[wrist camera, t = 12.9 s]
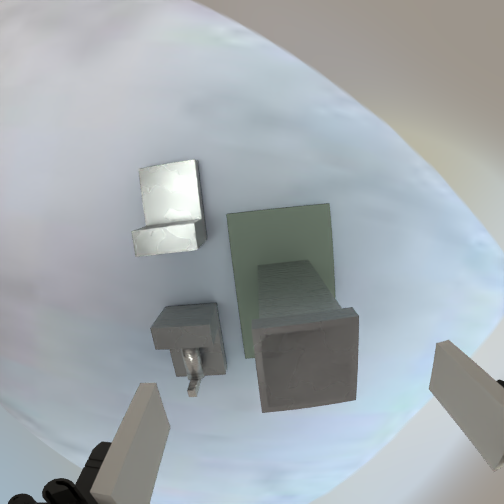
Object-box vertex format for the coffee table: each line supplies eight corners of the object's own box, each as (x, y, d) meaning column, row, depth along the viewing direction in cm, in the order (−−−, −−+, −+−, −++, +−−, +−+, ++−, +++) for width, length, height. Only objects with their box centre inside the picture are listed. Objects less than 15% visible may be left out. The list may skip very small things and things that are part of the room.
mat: (245, 356, 31) (245, 358, 31) (226, 214, 28) (226, 214, 28) (335, 345, 31) (336, 347, 30) (328, 203, 28) (329, 203, 28)
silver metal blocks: (179, 368, 32) (166, 401, 26) (144, 169, 28) (119, 166, 22) (227, 366, 31) (222, 399, 26) (197, 160, 28) (183, 154, 22)
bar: (259, 316, 30) (262, 412, 16) (253, 261, 29) (251, 329, 15) (315, 309, 30) (355, 399, 16) (311, 255, 29) (358, 316, 15)
